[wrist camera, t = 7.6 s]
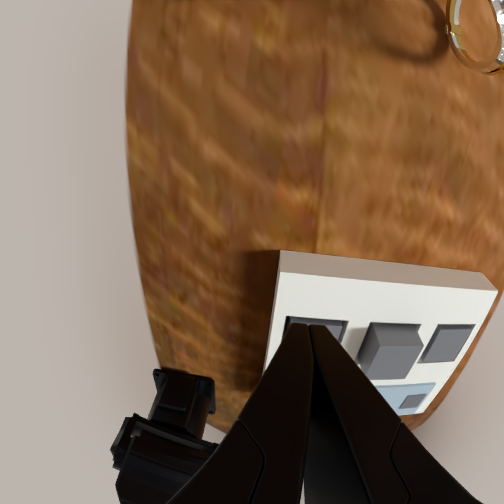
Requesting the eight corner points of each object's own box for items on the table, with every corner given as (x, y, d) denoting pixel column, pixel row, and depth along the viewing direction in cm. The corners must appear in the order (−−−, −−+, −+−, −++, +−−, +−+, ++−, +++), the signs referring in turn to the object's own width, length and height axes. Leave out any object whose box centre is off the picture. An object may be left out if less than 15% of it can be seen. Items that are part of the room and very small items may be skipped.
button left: (326, 337, 23) (330, 361, 21) (283, 333, 23) (283, 358, 21) (336, 302, 22) (342, 326, 19) (290, 298, 22) (291, 322, 19)
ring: (424, -15, 11) (482, -54, 3) (460, -1, 10) (524, -26, 3) (433, 68, 14) (507, 58, 7) (469, 80, 13) (546, 81, 6)
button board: (415, 392, 27) (423, 415, 24) (259, 390, 28) (256, 417, 25) (481, 272, 20) (500, 293, 17) (280, 249, 21) (280, 275, 18)
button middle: (396, 354, 21) (404, 379, 19) (357, 353, 22) (363, 380, 19) (412, 321, 20) (424, 345, 17) (371, 319, 20) (380, 345, 17)
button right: (443, 339, 23) (453, 360, 20) (413, 340, 23) (422, 362, 20) (458, 309, 21) (471, 329, 19) (428, 308, 21) (440, 329, 19)
